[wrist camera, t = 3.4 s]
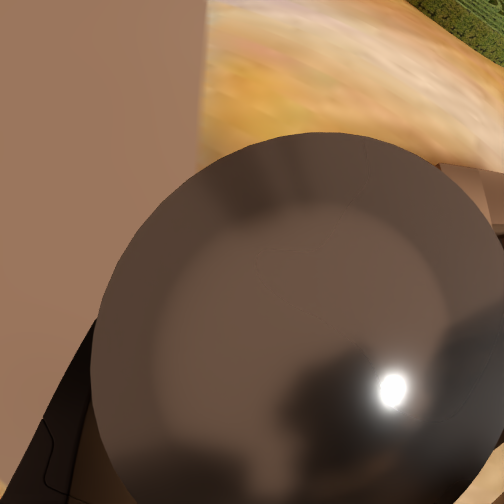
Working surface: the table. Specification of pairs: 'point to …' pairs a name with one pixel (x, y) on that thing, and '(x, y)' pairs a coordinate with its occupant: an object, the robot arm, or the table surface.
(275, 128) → the table surface
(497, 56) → the maze
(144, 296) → the steel pin
